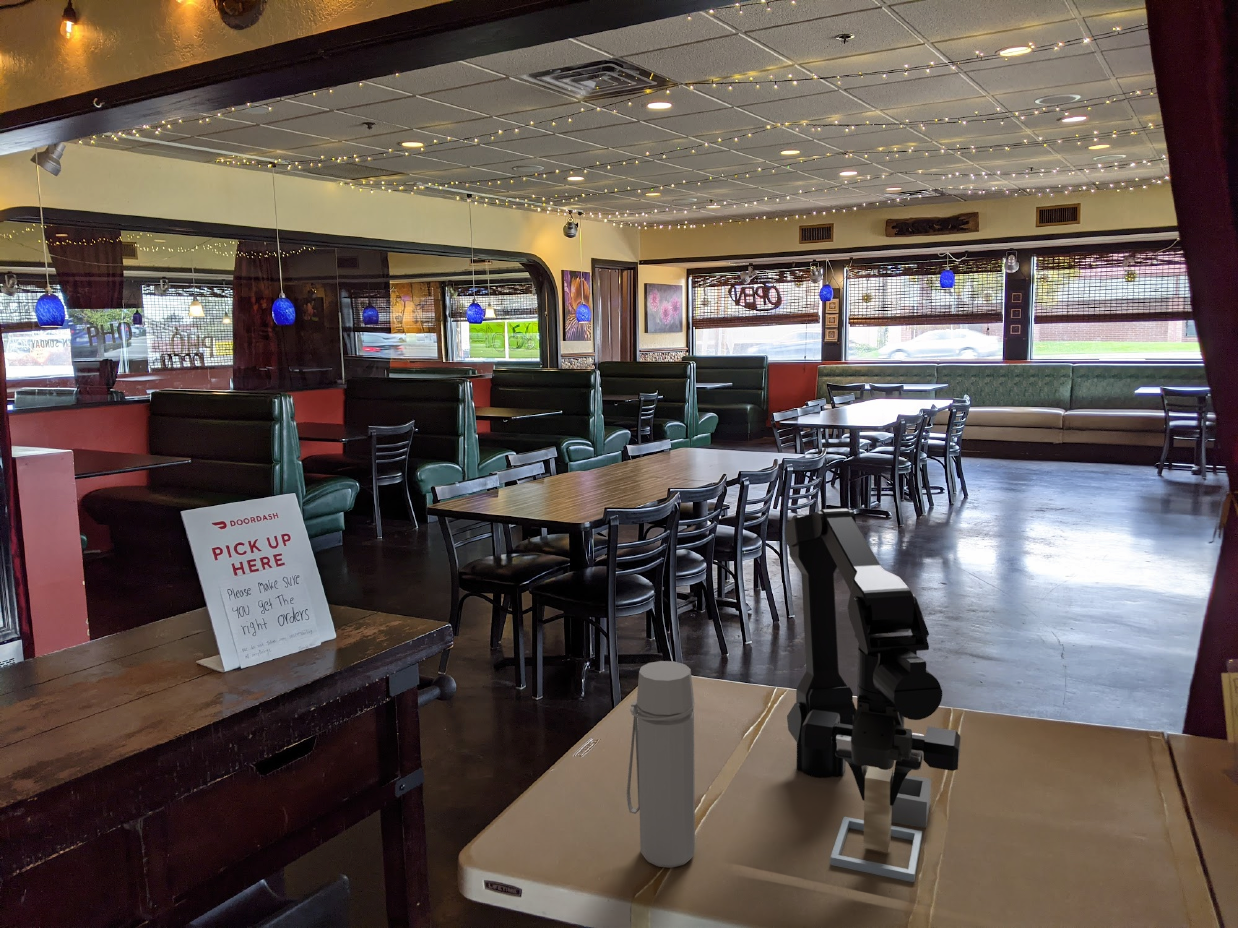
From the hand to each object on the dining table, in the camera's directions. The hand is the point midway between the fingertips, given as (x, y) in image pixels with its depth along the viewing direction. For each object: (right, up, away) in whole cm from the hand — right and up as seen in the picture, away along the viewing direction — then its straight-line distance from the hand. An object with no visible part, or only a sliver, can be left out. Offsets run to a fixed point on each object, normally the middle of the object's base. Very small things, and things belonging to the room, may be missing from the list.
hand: (878, 801), depth 117 cm
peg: (0, -6, +1) cm, 6 cm away
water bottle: (-27, -8, +3) cm, 29 cm away
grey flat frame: (0, -7, +1) cm, 8 cm away
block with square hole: (+6, -6, +10) cm, 13 cm away
